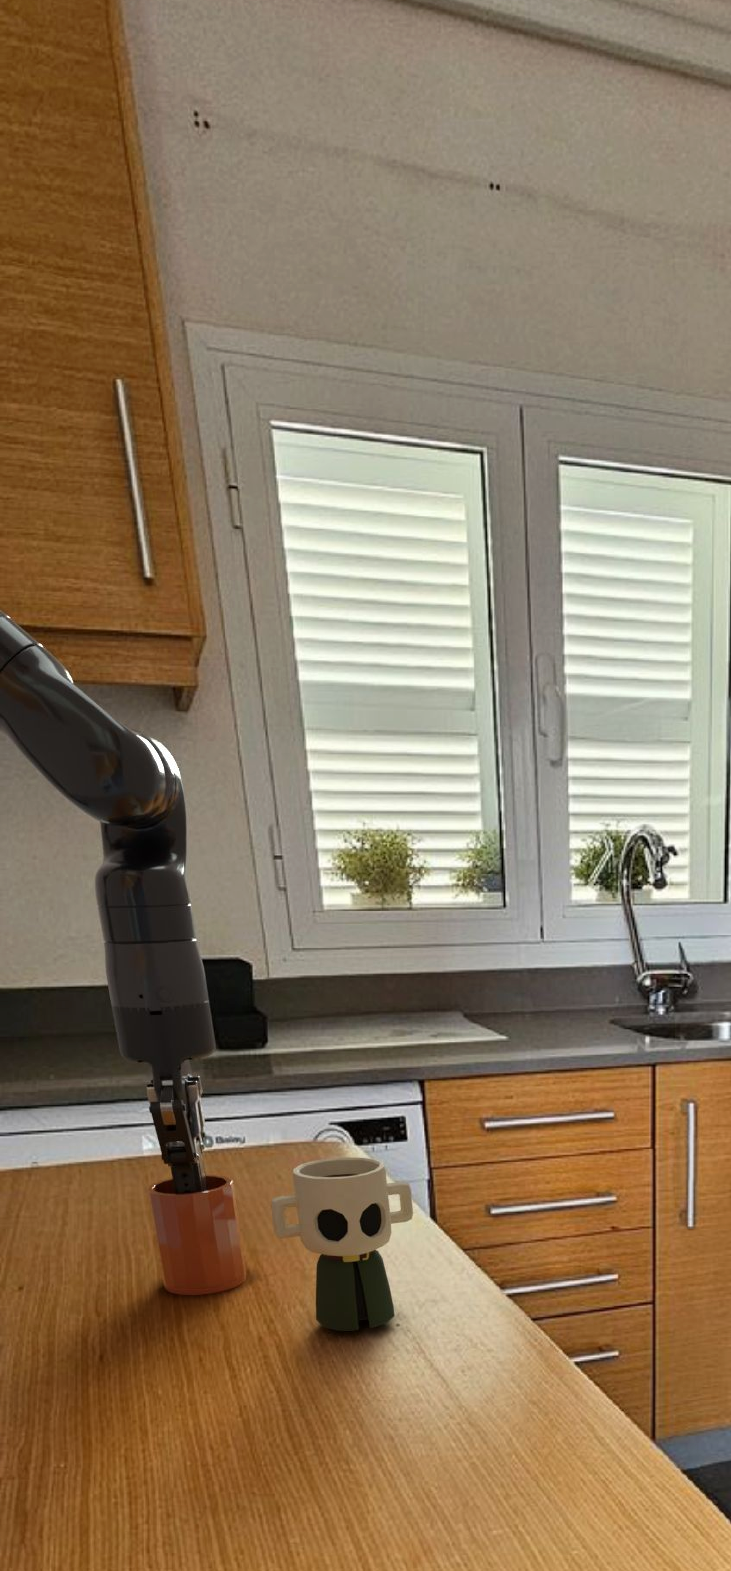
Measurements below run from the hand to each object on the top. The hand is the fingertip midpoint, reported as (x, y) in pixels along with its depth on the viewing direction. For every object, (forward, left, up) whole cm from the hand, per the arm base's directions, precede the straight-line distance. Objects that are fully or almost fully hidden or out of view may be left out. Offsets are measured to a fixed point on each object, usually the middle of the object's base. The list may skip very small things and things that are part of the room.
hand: (193, 1201), depth 105 cm
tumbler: (0, 0, -8) cm, 8 cm away
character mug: (+18, -7, -8) cm, 21 cm away
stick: (0, 0, -7) cm, 7 cm away
